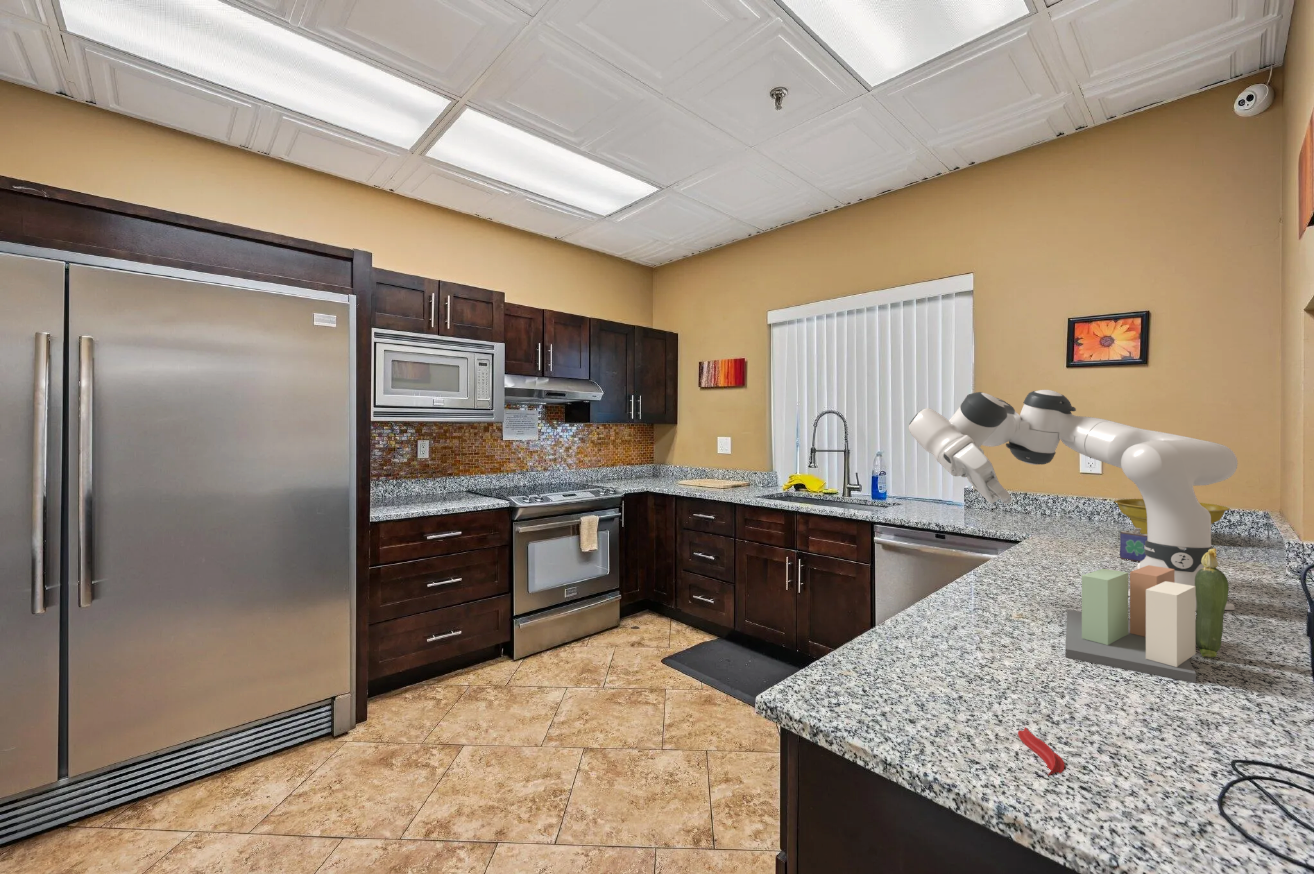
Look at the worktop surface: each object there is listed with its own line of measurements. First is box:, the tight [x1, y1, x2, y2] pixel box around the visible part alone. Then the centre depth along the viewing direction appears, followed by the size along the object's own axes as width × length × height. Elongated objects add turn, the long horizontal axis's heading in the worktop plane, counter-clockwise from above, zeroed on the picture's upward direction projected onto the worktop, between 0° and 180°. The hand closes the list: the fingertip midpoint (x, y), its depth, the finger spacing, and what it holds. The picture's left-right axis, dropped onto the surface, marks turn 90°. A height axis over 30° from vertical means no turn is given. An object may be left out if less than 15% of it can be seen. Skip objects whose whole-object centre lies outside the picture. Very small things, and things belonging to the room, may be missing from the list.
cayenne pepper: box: [1017, 727, 1065, 776], centre depth 70 cm, size 12×5×2 cm, turn 149°
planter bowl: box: [1113, 498, 1230, 534], centre depth 210 cm, size 32×32×13 cm
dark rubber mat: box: [1064, 609, 1197, 684], centre depth 105 cm, size 28×17×2 cm, turn 142°
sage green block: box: [1081, 568, 1129, 645], centre depth 105 cm, size 4×10×12 cm, turn 122°
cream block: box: [1146, 581, 1196, 667], centre depth 95 cm, size 4×10×12 cm, turn 122°
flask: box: [1119, 527, 1147, 563], centre depth 173 cm, size 9×3×11 cm, turn 25°
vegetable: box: [1195, 547, 1230, 658], centre depth 99 cm, size 4×4×20 cm
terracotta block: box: [1129, 565, 1175, 637], centre depth 107 cm, size 4×10×12 cm, turn 122°
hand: (1008, 499), depth 120 cm, fingers closed
